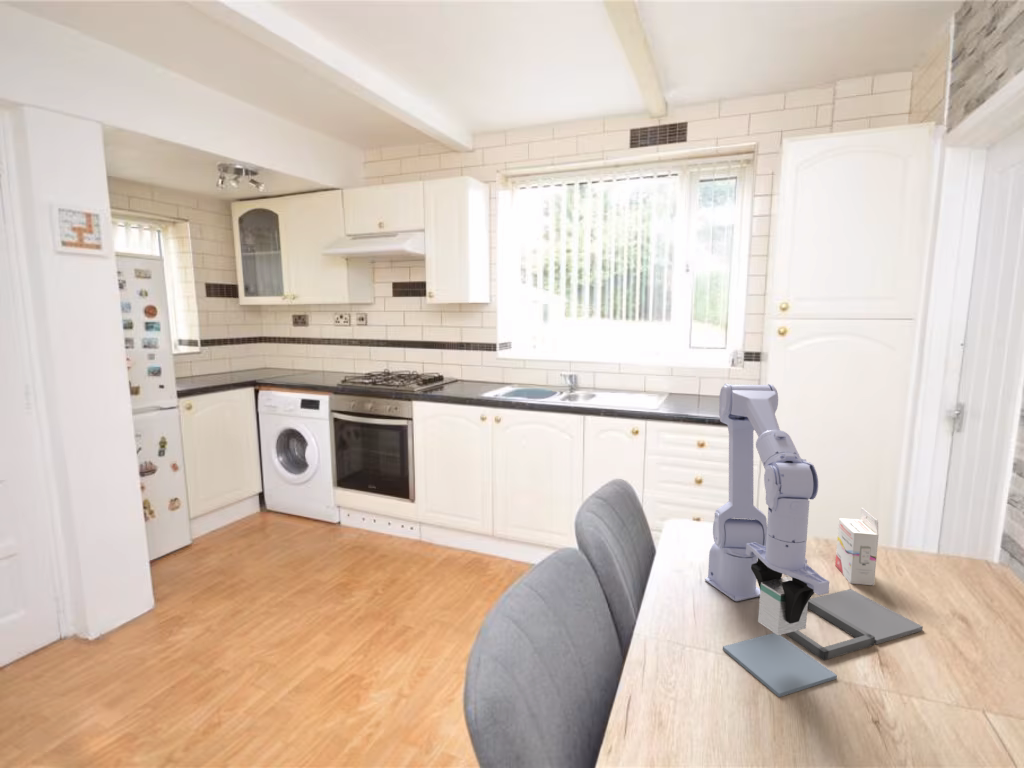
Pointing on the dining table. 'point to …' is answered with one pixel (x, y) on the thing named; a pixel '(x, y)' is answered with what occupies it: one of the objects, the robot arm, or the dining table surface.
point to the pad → (779, 664)
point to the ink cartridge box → (857, 548)
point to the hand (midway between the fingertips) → (781, 613)
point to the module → (777, 608)
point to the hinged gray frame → (855, 623)
